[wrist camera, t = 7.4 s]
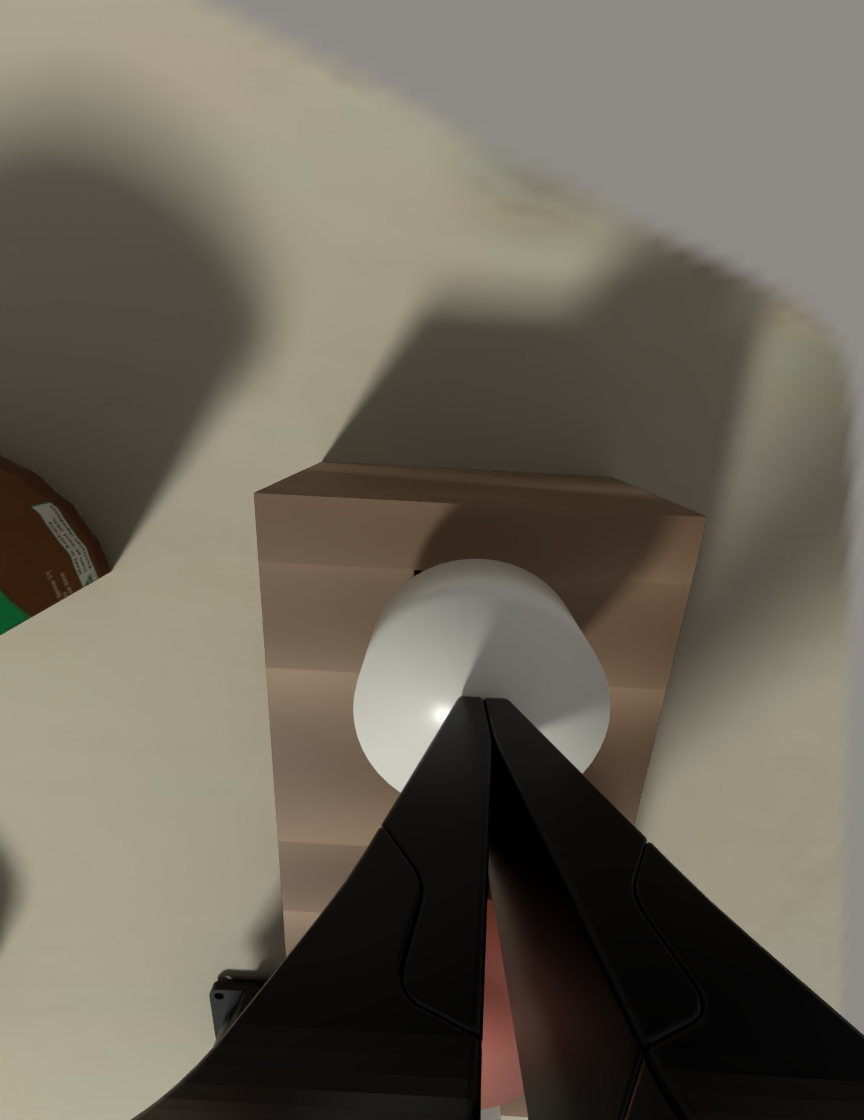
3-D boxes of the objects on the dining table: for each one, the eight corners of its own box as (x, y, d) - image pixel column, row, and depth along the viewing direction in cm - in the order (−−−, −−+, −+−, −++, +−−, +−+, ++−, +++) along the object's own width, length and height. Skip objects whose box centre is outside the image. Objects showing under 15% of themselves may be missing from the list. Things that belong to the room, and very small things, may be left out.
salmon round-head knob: (499, 833, 18) (538, 1117, 11) (387, 826, 18) (351, 1106, 11) (511, 739, 17) (564, 994, 10) (390, 733, 17) (350, 981, 10)
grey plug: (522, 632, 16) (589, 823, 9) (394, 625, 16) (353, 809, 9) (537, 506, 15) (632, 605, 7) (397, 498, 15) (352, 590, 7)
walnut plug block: (533, 943, 23) (563, 1119, 17) (332, 932, 23) (296, 1103, 18) (613, 477, 16) (707, 517, 10) (320, 462, 16) (253, 492, 10)
